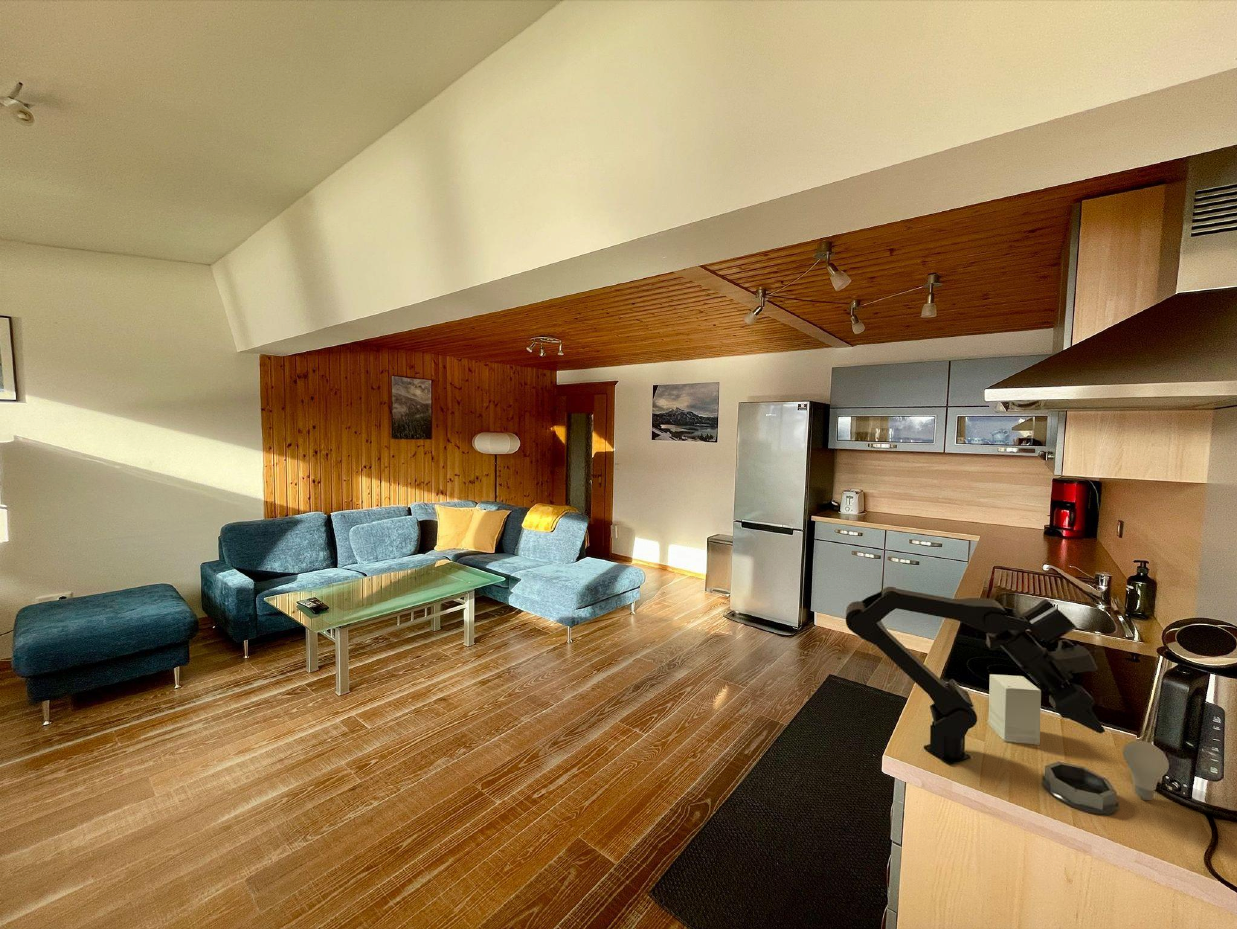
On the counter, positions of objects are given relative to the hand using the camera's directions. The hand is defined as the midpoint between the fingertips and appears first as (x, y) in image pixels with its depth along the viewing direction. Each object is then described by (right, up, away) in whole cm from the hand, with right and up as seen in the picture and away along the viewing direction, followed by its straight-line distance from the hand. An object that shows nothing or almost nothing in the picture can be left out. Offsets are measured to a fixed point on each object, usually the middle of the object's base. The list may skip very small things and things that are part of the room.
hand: (1092, 719), depth 102 cm
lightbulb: (+6, -14, -4) cm, 15 cm away
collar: (-5, -13, -2) cm, 14 cm away
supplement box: (-2, -13, +18) cm, 22 cm away
